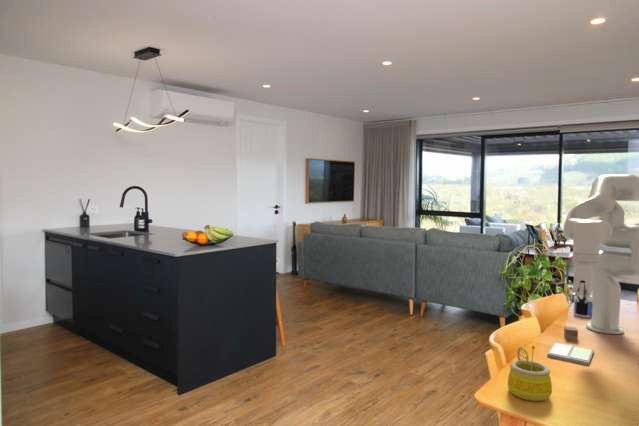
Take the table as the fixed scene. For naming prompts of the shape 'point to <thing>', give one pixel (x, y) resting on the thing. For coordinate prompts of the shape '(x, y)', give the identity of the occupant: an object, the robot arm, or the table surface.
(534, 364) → the yellow-green planter pot
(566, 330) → the walnut block
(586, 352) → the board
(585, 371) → the table surface
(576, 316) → the pill bottle
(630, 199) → the robot arm
